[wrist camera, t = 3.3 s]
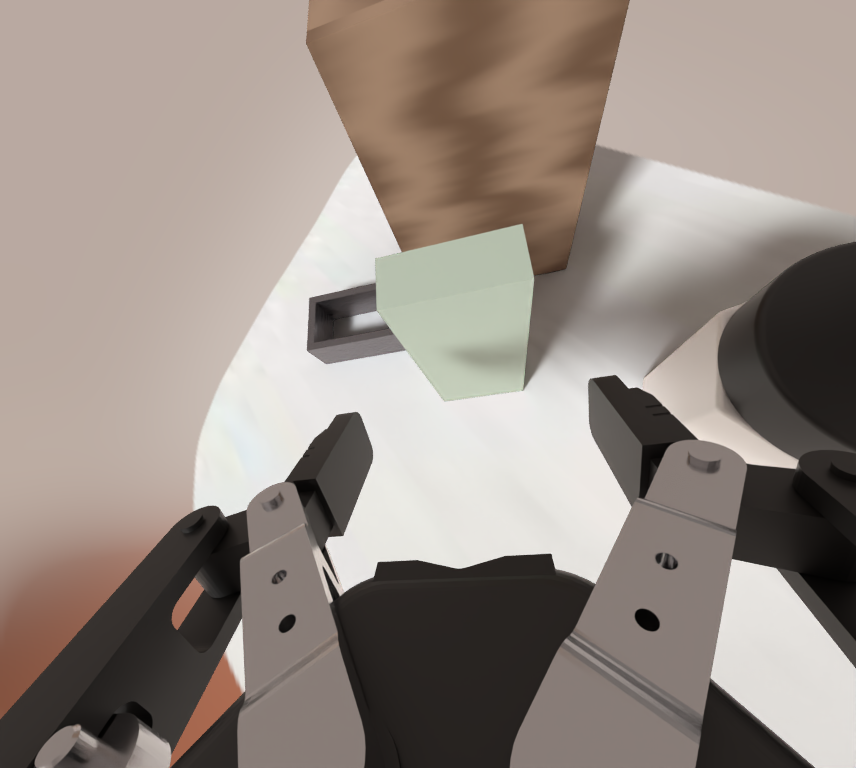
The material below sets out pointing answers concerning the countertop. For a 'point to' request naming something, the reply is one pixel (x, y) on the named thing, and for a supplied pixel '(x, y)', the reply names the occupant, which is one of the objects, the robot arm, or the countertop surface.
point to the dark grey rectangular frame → (350, 346)
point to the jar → (773, 367)
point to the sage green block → (462, 310)
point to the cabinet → (472, 110)
